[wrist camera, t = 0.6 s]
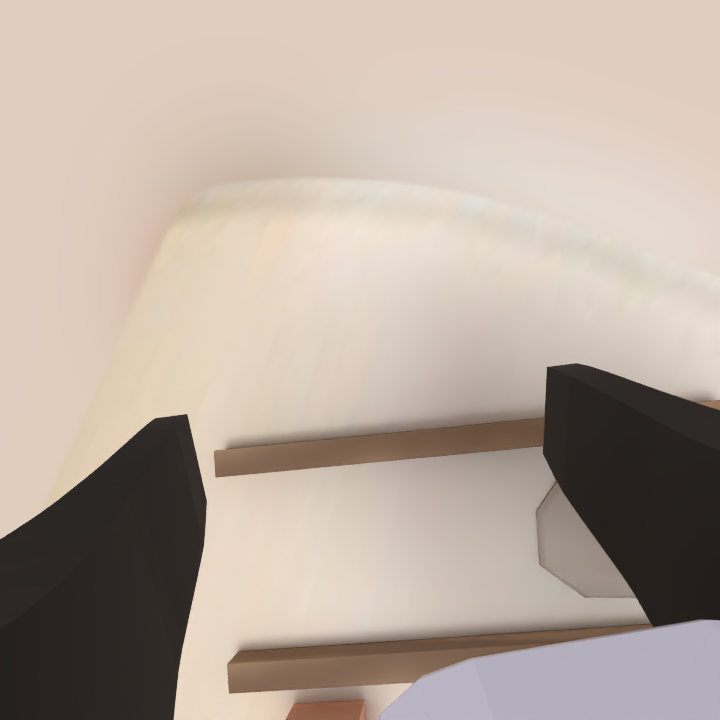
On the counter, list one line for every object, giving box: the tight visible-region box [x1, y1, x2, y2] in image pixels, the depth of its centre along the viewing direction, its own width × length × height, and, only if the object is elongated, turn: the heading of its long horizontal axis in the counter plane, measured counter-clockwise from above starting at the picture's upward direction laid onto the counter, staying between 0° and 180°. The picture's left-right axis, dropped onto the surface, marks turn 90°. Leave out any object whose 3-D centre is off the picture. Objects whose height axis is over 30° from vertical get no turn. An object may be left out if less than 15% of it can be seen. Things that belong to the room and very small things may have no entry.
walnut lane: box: [214, 400, 720, 693], centre depth 34 cm, size 13×28×2 cm, turn 96°
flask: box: [536, 482, 636, 598], centre depth 29 cm, size 7×7×10 cm
